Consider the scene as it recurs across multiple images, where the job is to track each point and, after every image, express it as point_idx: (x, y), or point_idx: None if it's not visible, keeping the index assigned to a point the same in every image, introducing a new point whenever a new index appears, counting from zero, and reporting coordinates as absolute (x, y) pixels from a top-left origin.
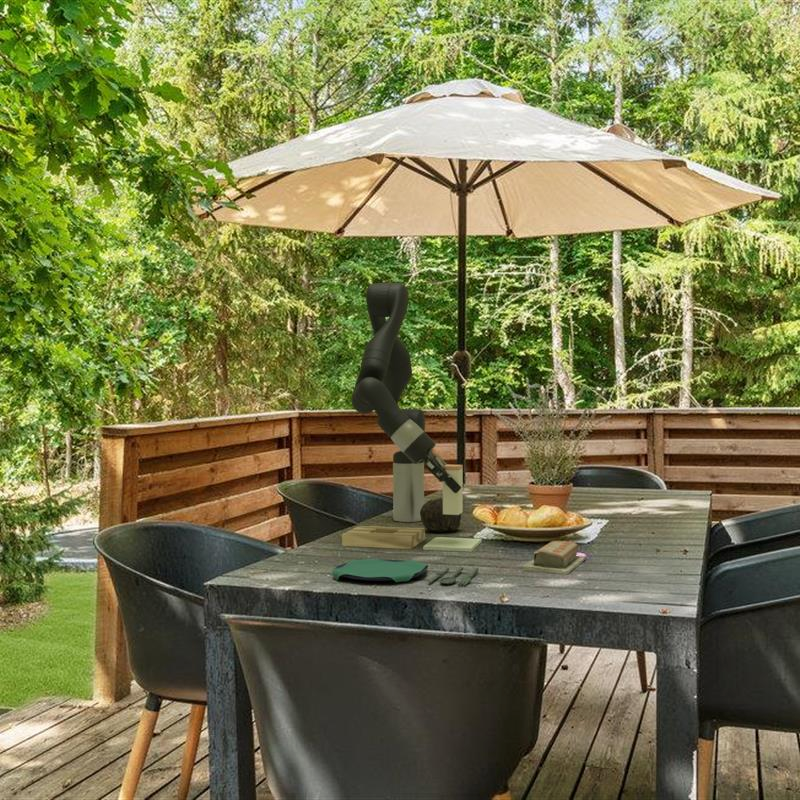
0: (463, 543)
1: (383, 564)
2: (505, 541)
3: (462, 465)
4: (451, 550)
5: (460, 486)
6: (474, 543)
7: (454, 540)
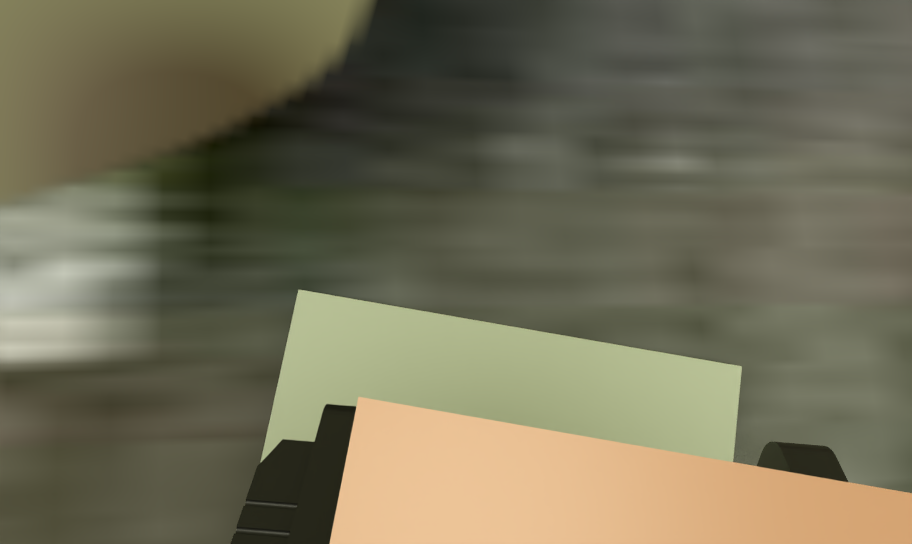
0: None
1: None
2: (262, 117)
3: (379, 402)
4: None
5: (816, 454)
6: (519, 344)
7: None
